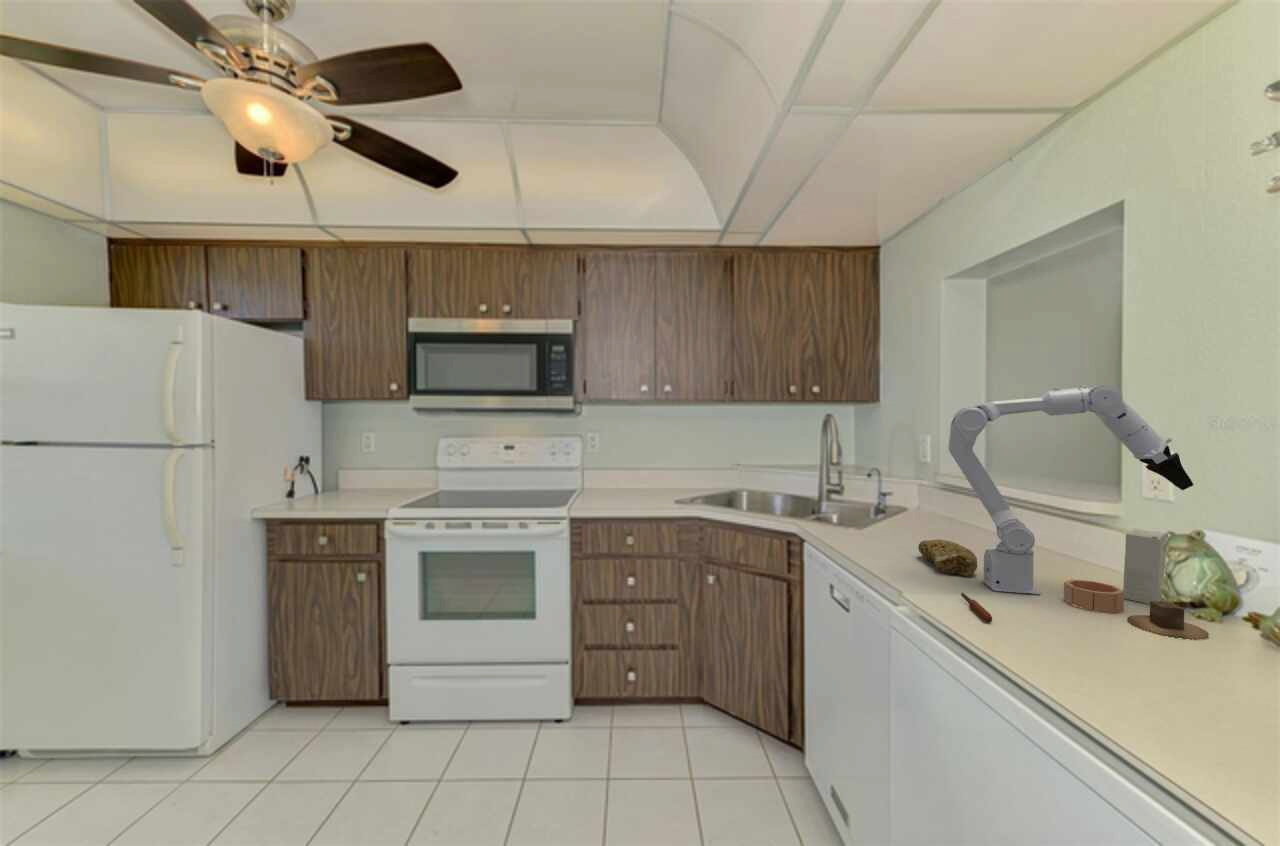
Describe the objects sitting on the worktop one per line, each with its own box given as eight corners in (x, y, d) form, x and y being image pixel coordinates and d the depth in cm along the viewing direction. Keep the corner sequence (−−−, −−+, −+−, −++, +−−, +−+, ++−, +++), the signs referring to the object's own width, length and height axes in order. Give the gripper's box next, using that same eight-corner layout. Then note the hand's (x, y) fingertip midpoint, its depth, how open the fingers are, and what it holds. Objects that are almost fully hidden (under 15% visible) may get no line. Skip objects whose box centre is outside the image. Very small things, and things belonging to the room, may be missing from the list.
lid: (1148, 637, 100) (1148, 611, 100) (1114, 616, 111) (1115, 593, 111) (1225, 645, 97) (1225, 618, 97) (1182, 622, 108) (1183, 598, 108)
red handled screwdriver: (992, 625, 106) (992, 614, 106) (984, 624, 106) (985, 614, 106) (964, 598, 121) (964, 589, 121) (957, 598, 121) (957, 589, 121)
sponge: (983, 584, 136) (971, 550, 154) (977, 554, 135) (966, 523, 153) (924, 586, 141) (919, 553, 159) (919, 558, 140) (914, 528, 158)
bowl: (1078, 610, 114) (1078, 591, 114) (1058, 596, 122) (1058, 578, 122) (1131, 614, 111) (1131, 595, 111) (1107, 600, 120) (1107, 582, 120)
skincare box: (1130, 591, 126) (1131, 527, 126) (1166, 598, 121) (1167, 531, 121) (1122, 599, 120) (1123, 532, 120) (1159, 607, 116) (1161, 537, 116)
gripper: (1159, 424, 110) (1215, 480, 106) (1147, 416, 122) (1196, 466, 118) (1122, 444, 114) (1174, 499, 110) (1113, 434, 125) (1160, 483, 122)
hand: (1183, 483), depth 114 cm, fingers open, 7 cm apart
